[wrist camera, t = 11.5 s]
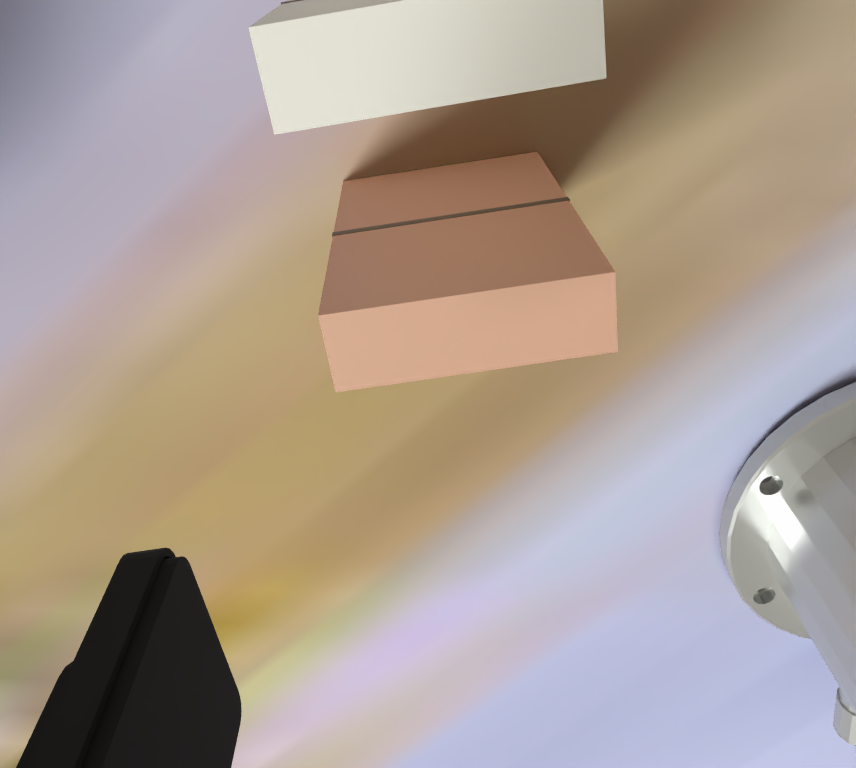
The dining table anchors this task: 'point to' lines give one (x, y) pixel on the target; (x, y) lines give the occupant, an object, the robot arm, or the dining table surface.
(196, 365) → the dining table surface
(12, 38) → the dining table surface
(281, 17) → the domino
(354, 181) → the domino
